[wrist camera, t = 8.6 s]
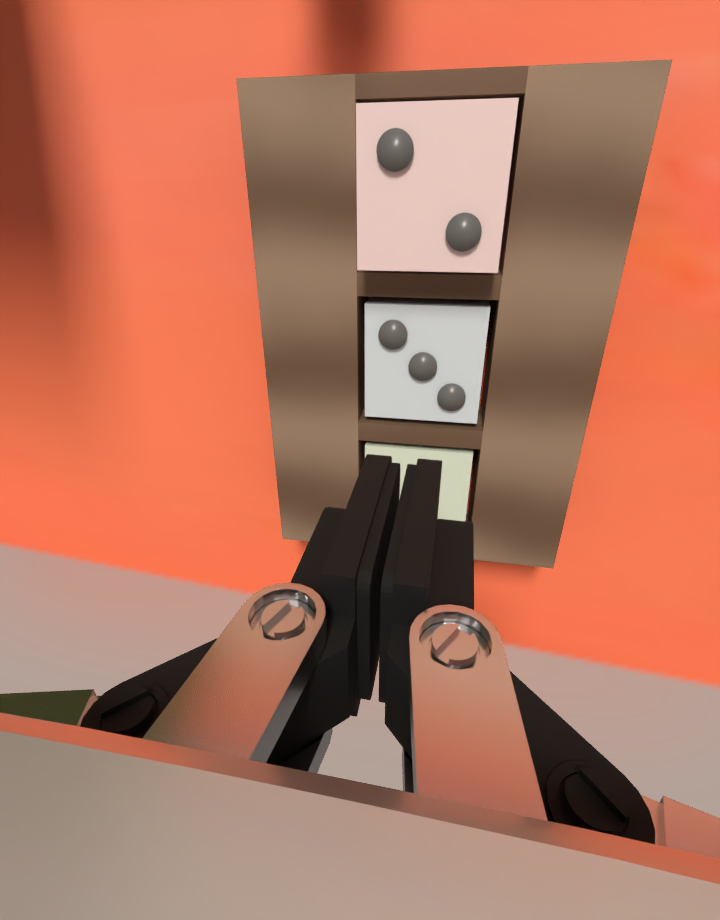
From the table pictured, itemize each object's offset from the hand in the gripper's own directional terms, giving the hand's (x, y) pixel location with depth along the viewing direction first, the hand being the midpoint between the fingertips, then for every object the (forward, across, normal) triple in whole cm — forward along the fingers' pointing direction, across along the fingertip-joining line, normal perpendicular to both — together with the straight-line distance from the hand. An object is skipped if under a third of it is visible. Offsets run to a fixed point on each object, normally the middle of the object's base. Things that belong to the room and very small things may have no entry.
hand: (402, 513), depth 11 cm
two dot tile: (+12, 0, -6) cm, 14 cm away
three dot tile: (+14, 0, 0) cm, 14 cm away
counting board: (+14, 0, 0) cm, 14 cm away
